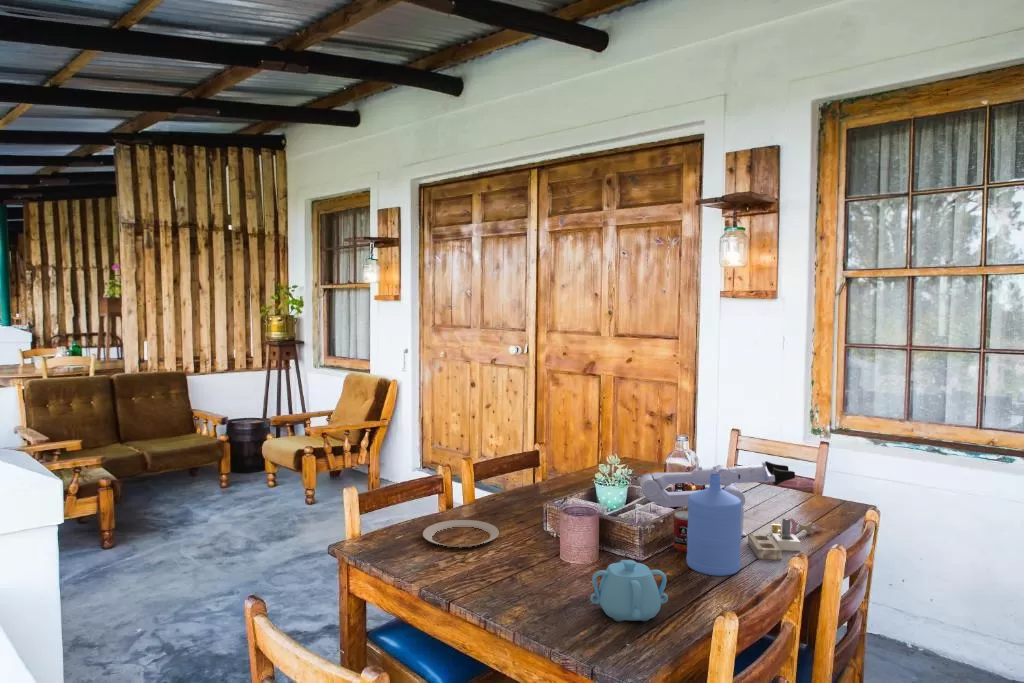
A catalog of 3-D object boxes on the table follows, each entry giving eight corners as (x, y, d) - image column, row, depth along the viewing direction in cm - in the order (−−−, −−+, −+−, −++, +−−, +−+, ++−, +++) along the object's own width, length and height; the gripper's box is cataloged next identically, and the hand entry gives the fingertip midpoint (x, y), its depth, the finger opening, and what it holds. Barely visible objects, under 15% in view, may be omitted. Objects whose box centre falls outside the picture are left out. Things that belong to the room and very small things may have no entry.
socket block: (777, 549, 223) (777, 540, 222) (764, 533, 239) (765, 524, 238) (799, 550, 222) (800, 541, 222) (785, 533, 238) (786, 525, 238)
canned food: (670, 549, 223) (671, 516, 222) (677, 541, 230) (677, 509, 229) (694, 553, 219) (695, 519, 218) (700, 545, 226) (701, 512, 225)
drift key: (776, 538, 232) (776, 530, 231) (771, 531, 238) (771, 523, 238) (785, 538, 231) (785, 530, 231) (779, 532, 238) (780, 524, 237)
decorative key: (821, 538, 241) (783, 538, 231) (818, 537, 242) (780, 537, 232) (824, 519, 241) (786, 518, 231) (821, 518, 242) (783, 517, 232)
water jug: (743, 579, 200) (746, 483, 198) (687, 574, 203) (689, 480, 201) (737, 559, 215) (739, 470, 213) (685, 555, 218) (686, 467, 216)
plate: (464, 558, 216) (464, 551, 215) (406, 540, 231) (406, 534, 231) (514, 535, 236) (514, 529, 236) (457, 520, 251) (457, 515, 251)
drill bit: (782, 547, 225) (783, 520, 224) (780, 545, 227) (781, 518, 226) (790, 548, 224) (791, 520, 224) (788, 545, 227) (789, 518, 226)
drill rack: (758, 558, 215) (758, 549, 215) (747, 542, 229) (748, 533, 229) (781, 559, 214) (781, 550, 214) (769, 543, 228) (769, 534, 228)
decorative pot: (625, 594, 190) (626, 545, 189) (674, 614, 177) (675, 562, 176) (584, 611, 179) (584, 560, 178) (632, 634, 167) (633, 579, 166)
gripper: (754, 467, 230) (797, 465, 228) (744, 457, 244) (784, 455, 243) (755, 488, 230) (798, 486, 229) (746, 477, 245) (785, 475, 243)
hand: (791, 471), depth 236 cm, fingers open, 7 cm apart
